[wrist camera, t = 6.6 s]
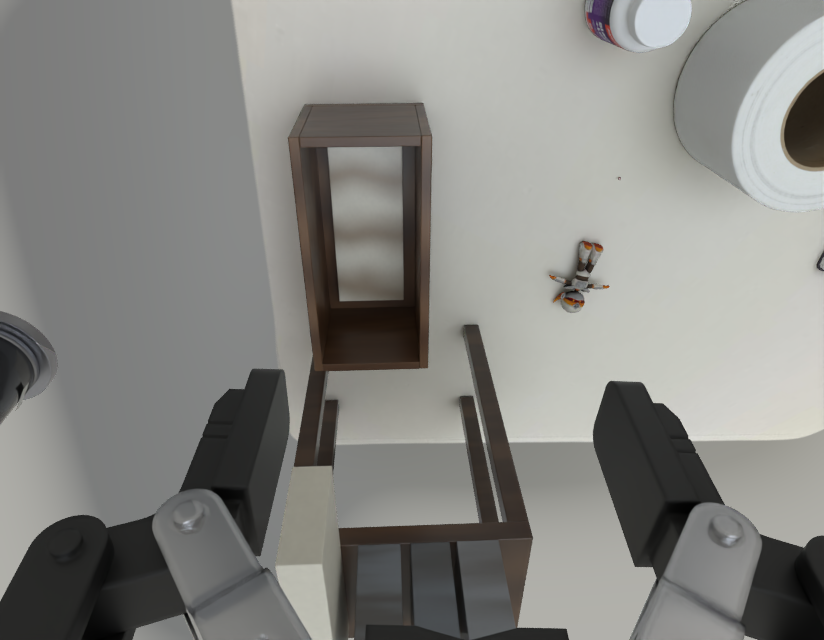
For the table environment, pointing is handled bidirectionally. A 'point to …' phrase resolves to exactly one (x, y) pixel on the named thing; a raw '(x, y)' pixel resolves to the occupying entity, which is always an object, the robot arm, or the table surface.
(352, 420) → the table surface
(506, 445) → the shelf
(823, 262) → the notebook
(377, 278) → the crate
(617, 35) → the pill bottle
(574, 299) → the toy robot
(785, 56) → the tape roll
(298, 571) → the white book
